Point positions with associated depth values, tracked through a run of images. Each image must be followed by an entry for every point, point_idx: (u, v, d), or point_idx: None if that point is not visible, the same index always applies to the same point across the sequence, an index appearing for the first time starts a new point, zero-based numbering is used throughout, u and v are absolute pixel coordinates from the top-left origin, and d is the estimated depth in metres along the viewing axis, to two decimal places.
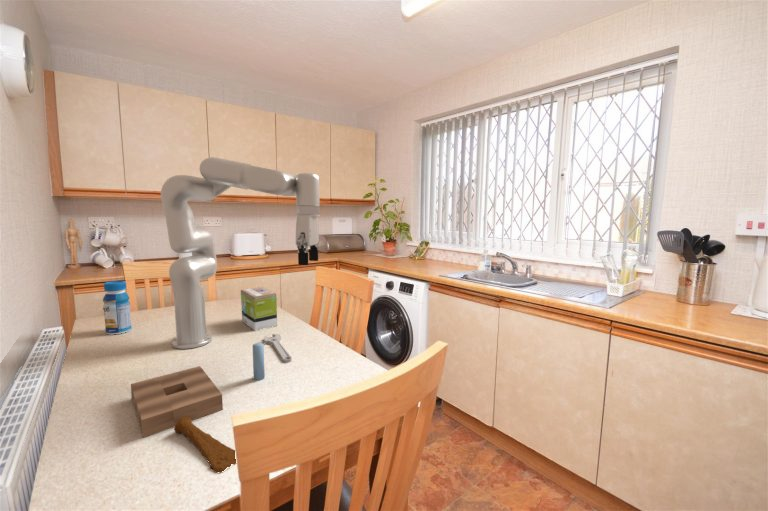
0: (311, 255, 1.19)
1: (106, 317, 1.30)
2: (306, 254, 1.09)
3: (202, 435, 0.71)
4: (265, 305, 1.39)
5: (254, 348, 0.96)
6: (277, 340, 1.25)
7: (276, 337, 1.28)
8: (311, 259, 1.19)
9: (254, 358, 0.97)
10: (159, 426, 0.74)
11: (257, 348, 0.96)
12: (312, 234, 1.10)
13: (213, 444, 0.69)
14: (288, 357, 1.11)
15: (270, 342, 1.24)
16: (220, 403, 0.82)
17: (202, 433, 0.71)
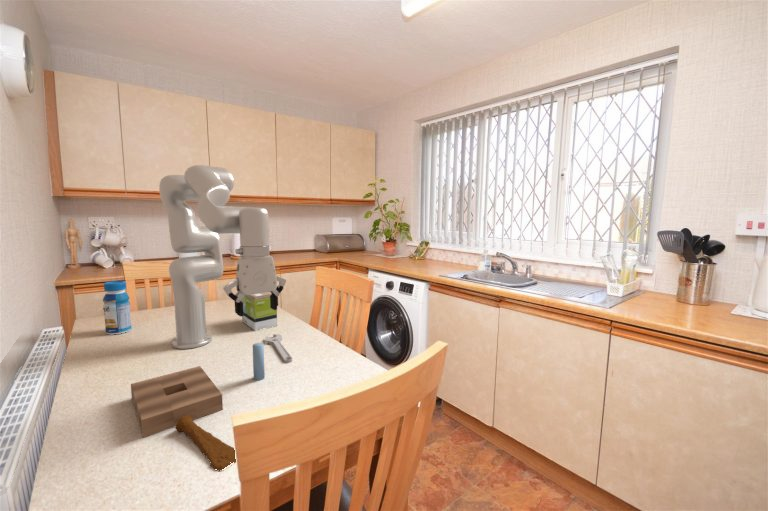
0: None
1: (106, 317, 1.30)
2: None
3: (203, 434, 0.71)
4: (265, 305, 1.39)
5: (254, 348, 0.96)
6: (278, 340, 1.25)
7: (277, 337, 1.27)
8: None
9: (254, 358, 0.97)
10: (159, 426, 0.74)
11: (257, 348, 0.96)
12: None
13: (214, 443, 0.69)
14: (289, 357, 1.11)
15: (271, 342, 1.24)
16: (220, 403, 0.82)
17: (203, 432, 0.72)
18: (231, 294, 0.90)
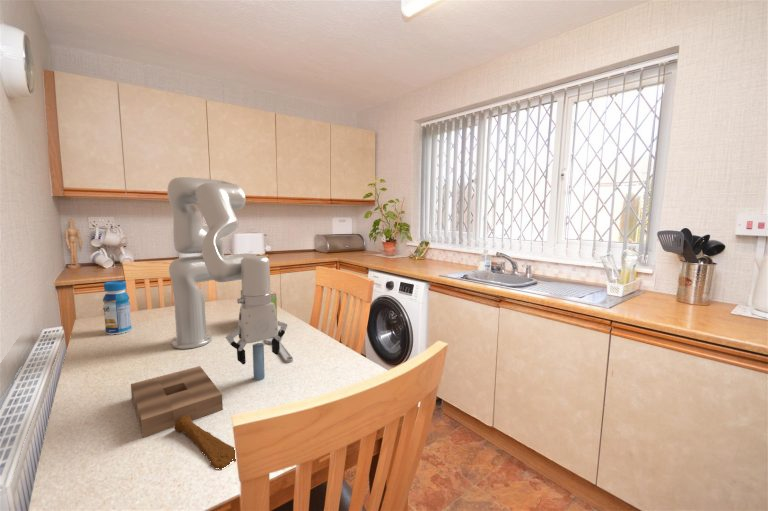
0: None
1: (106, 317, 1.30)
2: None
3: (202, 433, 0.71)
4: None
5: (254, 348, 0.96)
6: None
7: None
8: None
9: (254, 358, 0.97)
10: (159, 426, 0.74)
11: (257, 348, 0.96)
12: None
13: (213, 442, 0.69)
14: (290, 357, 1.11)
15: (271, 342, 1.24)
16: (220, 403, 0.82)
17: (202, 431, 0.72)
18: (233, 343, 0.92)
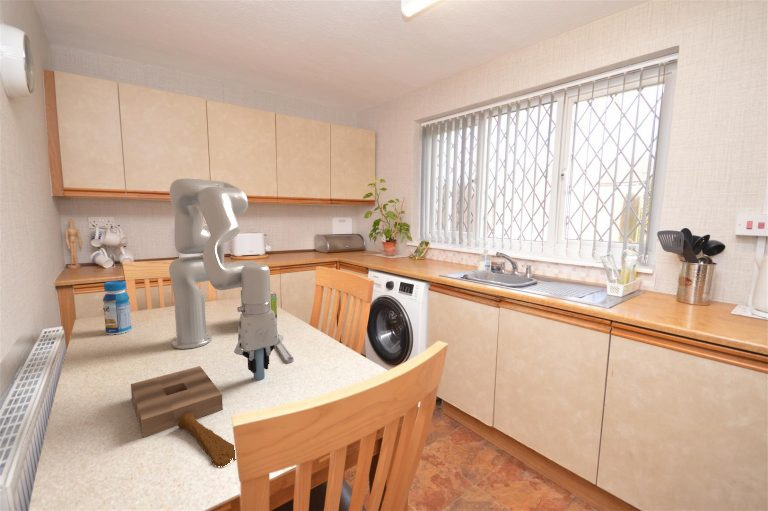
0: None
1: (106, 317, 1.30)
2: None
3: (205, 431, 0.72)
4: None
5: None
6: None
7: (278, 337, 1.27)
8: None
9: (254, 358, 0.97)
10: (159, 426, 0.74)
11: None
12: None
13: (215, 440, 0.70)
14: (290, 358, 1.11)
15: None
16: (220, 403, 0.82)
17: (205, 429, 0.73)
18: (244, 353, 0.94)
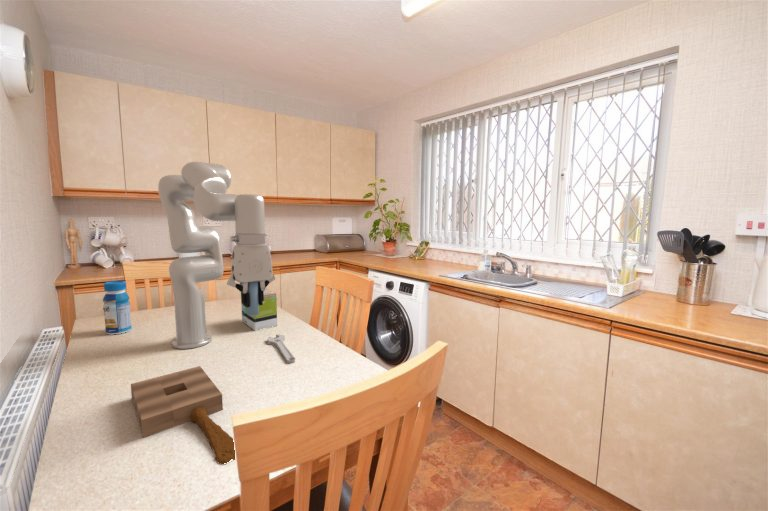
0: None
1: (106, 317, 1.30)
2: None
3: (213, 426, 0.74)
4: (265, 305, 1.39)
5: None
6: (281, 341, 1.24)
7: (280, 338, 1.27)
8: None
9: (248, 292, 0.94)
10: (159, 426, 0.74)
11: None
12: None
13: (221, 436, 0.71)
14: (292, 358, 1.11)
15: (274, 343, 1.23)
16: (220, 403, 0.82)
17: (213, 424, 0.74)
18: (238, 285, 0.91)
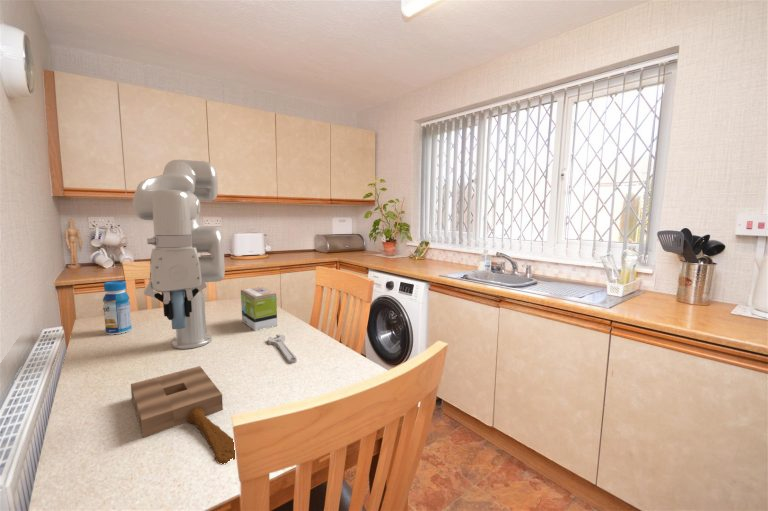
0: (171, 311, 0.81)
1: (106, 317, 1.30)
2: None
3: (211, 427, 0.73)
4: (265, 305, 1.39)
5: None
6: (281, 341, 1.24)
7: (280, 338, 1.27)
8: None
9: (171, 302, 0.81)
10: (159, 426, 0.74)
11: None
12: None
13: (220, 436, 0.71)
14: (293, 358, 1.11)
15: (274, 343, 1.23)
16: (220, 403, 0.82)
17: (211, 425, 0.74)
18: (157, 295, 0.79)
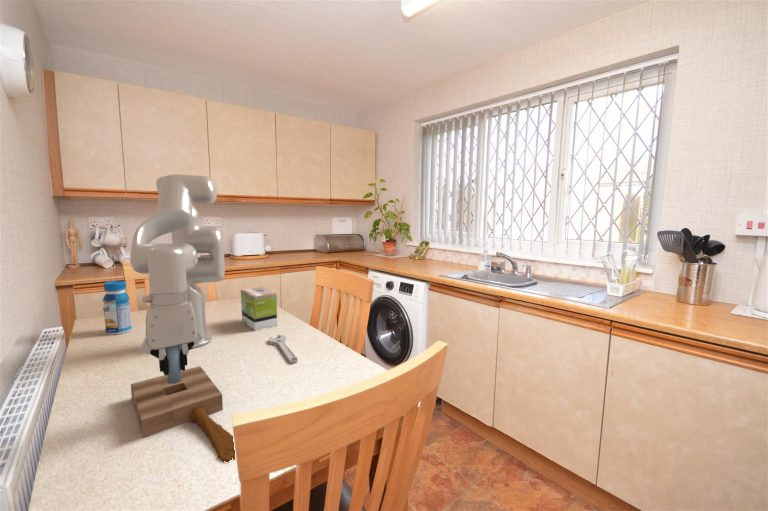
0: None
1: (106, 317, 1.30)
2: None
3: (214, 426, 0.74)
4: (265, 305, 1.39)
5: None
6: (282, 341, 1.24)
7: (281, 338, 1.27)
8: (167, 371, 0.82)
9: (167, 358, 0.82)
10: (159, 426, 0.74)
11: None
12: None
13: (223, 435, 0.71)
14: (294, 358, 1.10)
15: (275, 343, 1.23)
16: (220, 403, 0.82)
17: (214, 424, 0.74)
18: (153, 351, 0.79)
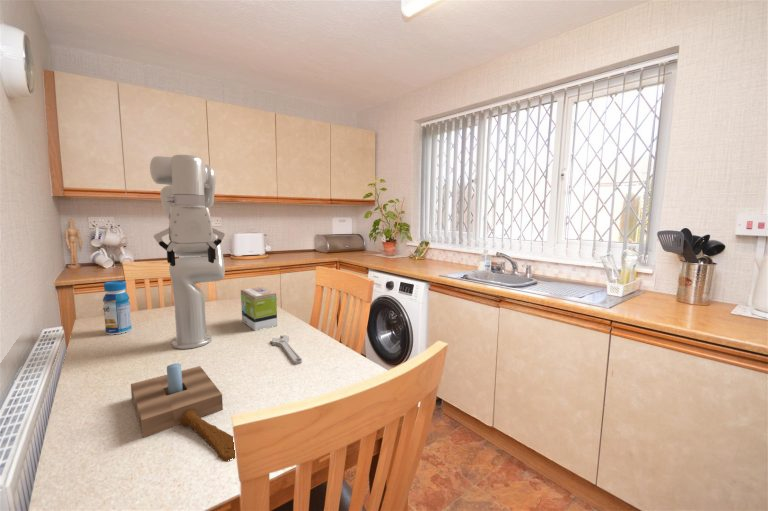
0: None
1: (106, 317, 1.30)
2: None
3: (208, 427, 0.73)
4: (265, 305, 1.39)
5: (168, 370, 0.82)
6: (285, 341, 1.23)
7: (284, 338, 1.26)
8: None
9: (168, 382, 0.83)
10: (159, 426, 0.74)
11: (172, 370, 0.82)
12: None
13: (220, 435, 0.71)
14: (298, 359, 1.10)
15: (278, 344, 1.23)
16: (220, 403, 0.82)
17: (208, 425, 0.74)
18: (161, 242, 0.89)
